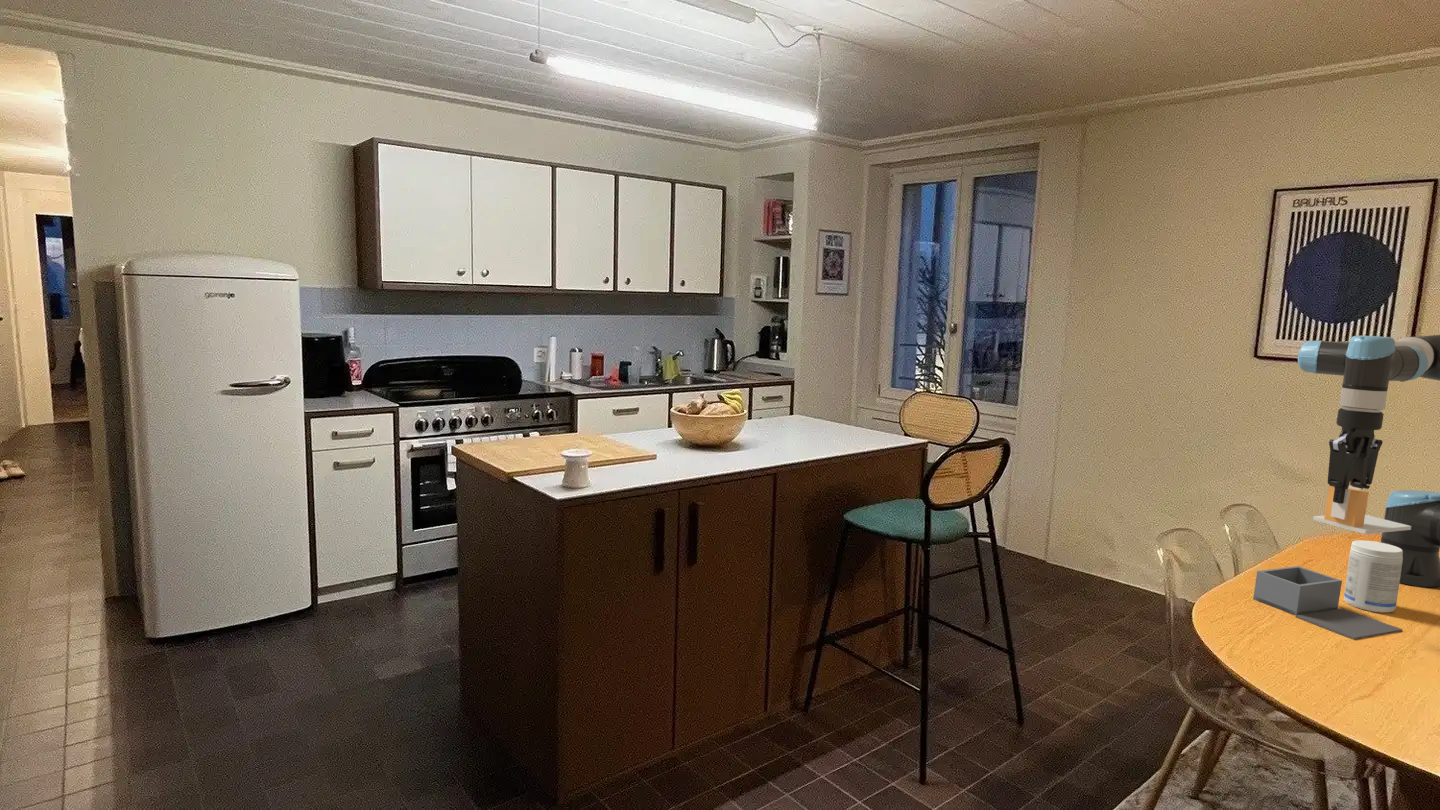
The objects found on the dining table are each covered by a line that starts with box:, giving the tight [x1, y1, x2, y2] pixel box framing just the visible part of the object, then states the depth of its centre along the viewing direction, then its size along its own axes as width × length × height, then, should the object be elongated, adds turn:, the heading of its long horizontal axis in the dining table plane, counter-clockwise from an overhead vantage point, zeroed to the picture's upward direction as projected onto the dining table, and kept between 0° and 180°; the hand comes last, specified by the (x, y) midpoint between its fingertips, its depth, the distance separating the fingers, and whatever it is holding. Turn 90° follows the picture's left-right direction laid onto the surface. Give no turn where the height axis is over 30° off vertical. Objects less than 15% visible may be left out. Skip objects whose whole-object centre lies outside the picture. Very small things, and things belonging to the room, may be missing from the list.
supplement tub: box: [1343, 539, 1403, 614], centre depth 185 cm, size 10×10×15 cm
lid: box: [1312, 485, 1411, 535], centre depth 171 cm, size 15×11×8 cm
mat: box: [1294, 607, 1403, 640], centre depth 175 cm, size 16×12×1 cm
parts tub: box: [1252, 565, 1343, 616], centre depth 185 cm, size 14×10×7 cm
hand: (1344, 517), depth 170 cm, fingers closed on lid, 3 cm apart
